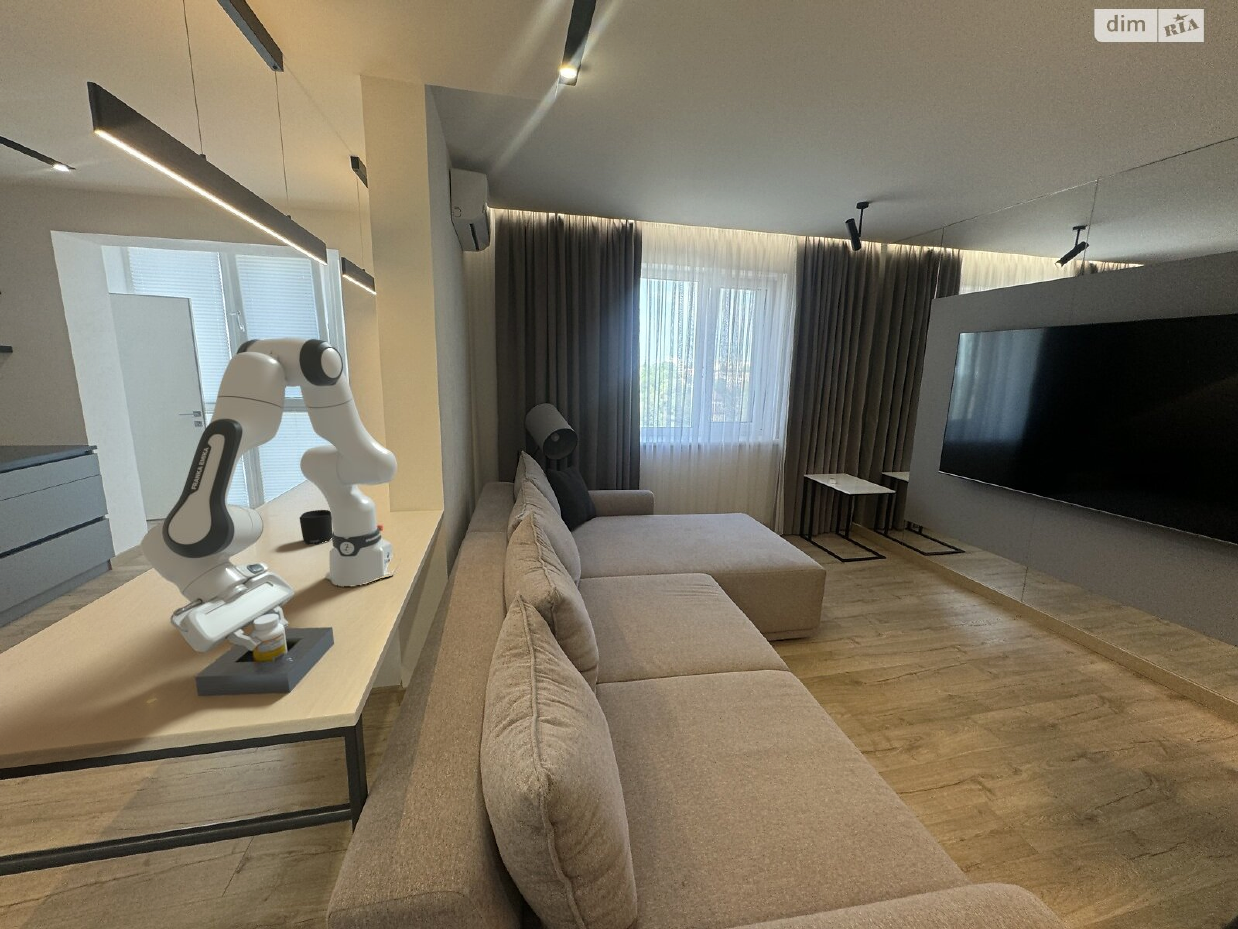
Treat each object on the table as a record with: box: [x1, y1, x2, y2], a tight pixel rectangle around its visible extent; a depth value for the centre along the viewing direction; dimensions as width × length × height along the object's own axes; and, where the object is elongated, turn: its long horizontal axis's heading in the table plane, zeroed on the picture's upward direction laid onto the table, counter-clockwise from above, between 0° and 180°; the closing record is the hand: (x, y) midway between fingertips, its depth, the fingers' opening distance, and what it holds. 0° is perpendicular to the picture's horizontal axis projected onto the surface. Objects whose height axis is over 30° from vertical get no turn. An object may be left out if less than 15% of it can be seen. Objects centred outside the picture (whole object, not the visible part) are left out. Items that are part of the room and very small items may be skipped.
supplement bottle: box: [251, 614, 287, 662], centre depth 92 cm, size 5×5×10 cm
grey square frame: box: [194, 626, 335, 697], centre depth 93 cm, size 16×16×4 cm
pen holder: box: [299, 509, 333, 545], centre depth 162 cm, size 9×9×10 cm
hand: (271, 637), depth 92 cm, fingers closed on supplement bottle, 5 cm apart
